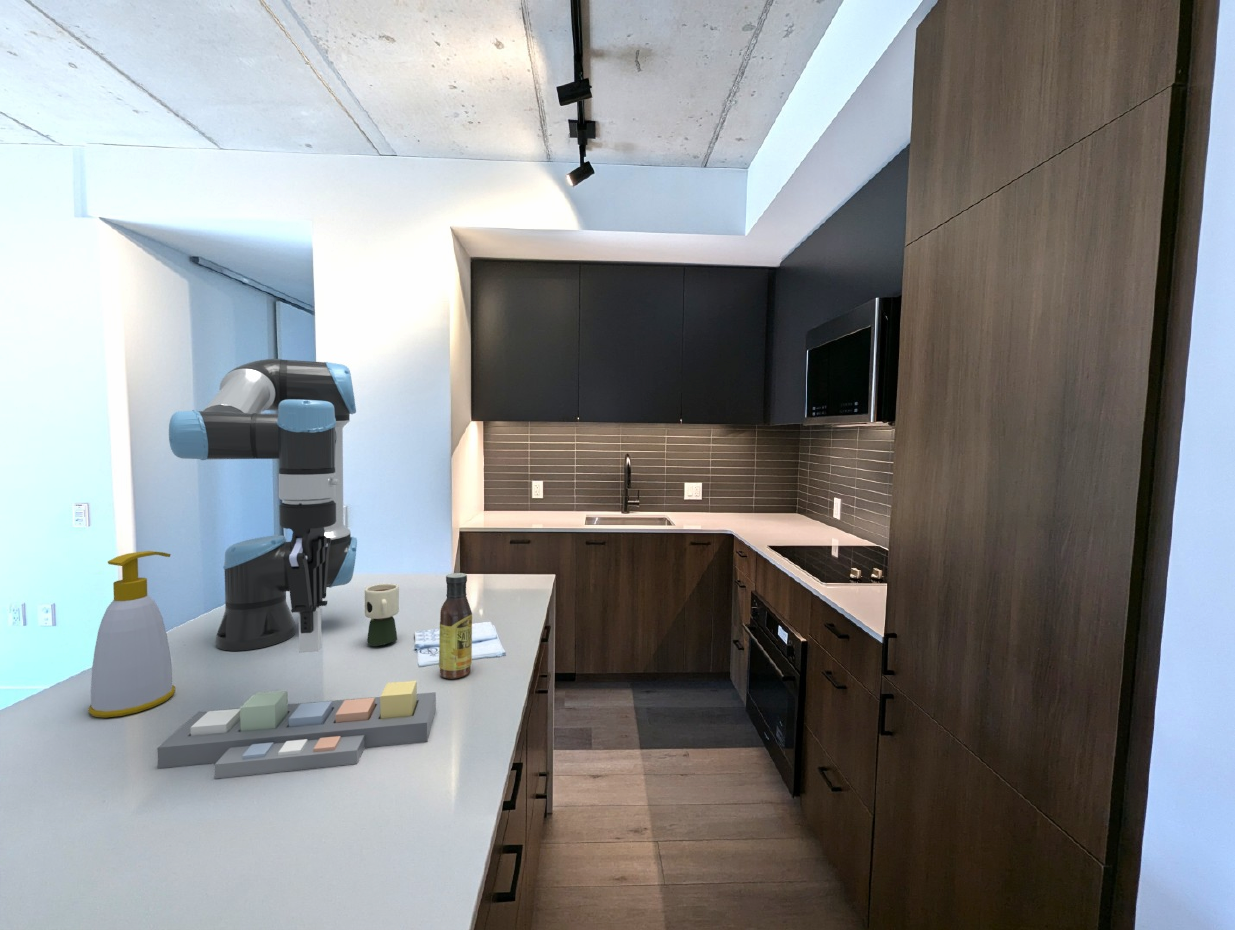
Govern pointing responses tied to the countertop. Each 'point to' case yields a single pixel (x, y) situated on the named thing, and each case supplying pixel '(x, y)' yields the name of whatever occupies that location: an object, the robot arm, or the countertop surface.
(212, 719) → the key white
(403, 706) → the key mustard
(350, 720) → the key terracotta
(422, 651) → the folded patterned cloth
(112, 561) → the soap bottle
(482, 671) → the countertop surface
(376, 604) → the character mug
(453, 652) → the sauce bottle
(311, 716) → the key slate
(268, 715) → the key sage
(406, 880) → the countertop surface
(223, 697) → the countertop surface
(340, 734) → the keypad
